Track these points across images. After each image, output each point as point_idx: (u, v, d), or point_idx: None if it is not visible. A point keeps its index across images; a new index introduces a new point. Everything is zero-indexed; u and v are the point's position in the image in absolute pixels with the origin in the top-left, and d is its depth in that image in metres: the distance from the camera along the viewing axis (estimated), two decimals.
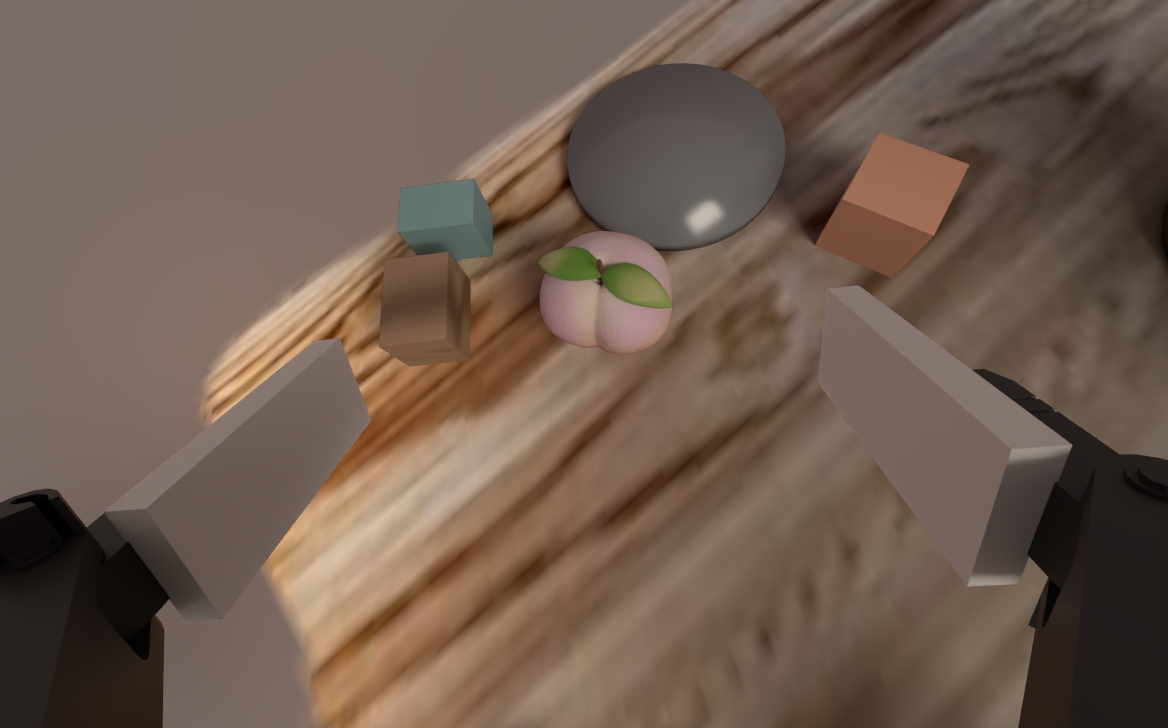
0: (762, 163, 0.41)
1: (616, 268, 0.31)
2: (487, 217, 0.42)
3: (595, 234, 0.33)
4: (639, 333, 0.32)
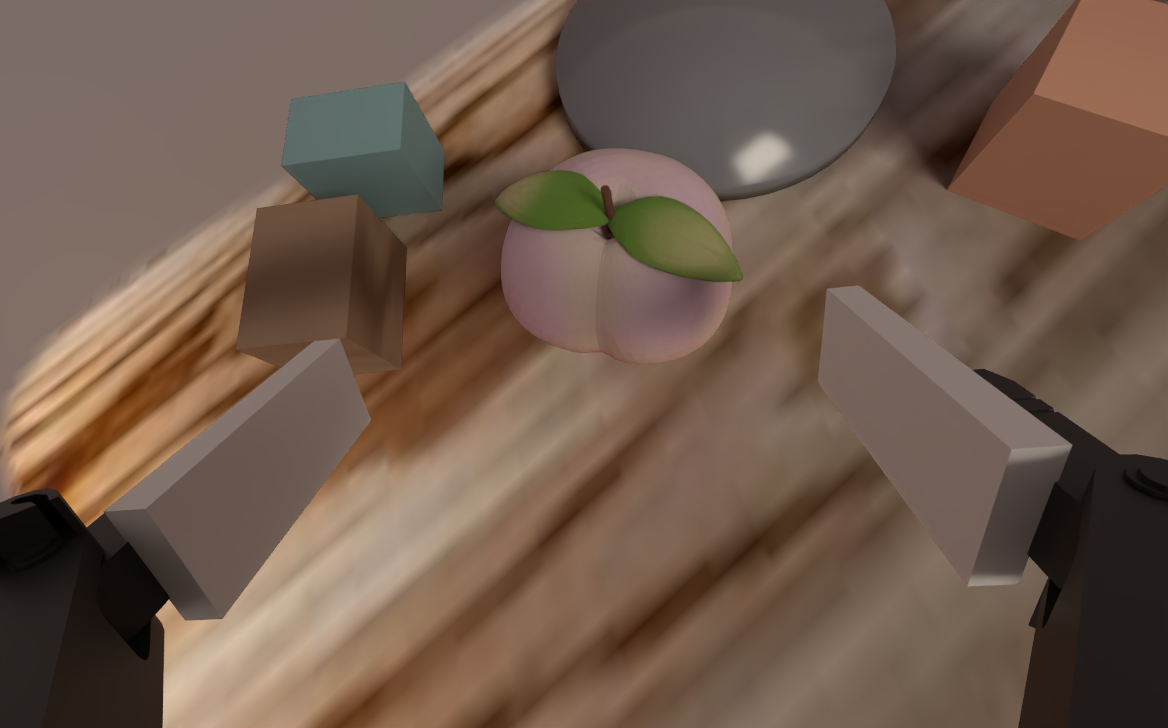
0: (859, 64, 0.26)
1: (637, 206, 0.16)
2: (433, 150, 0.28)
3: (598, 151, 0.18)
4: (678, 329, 0.17)
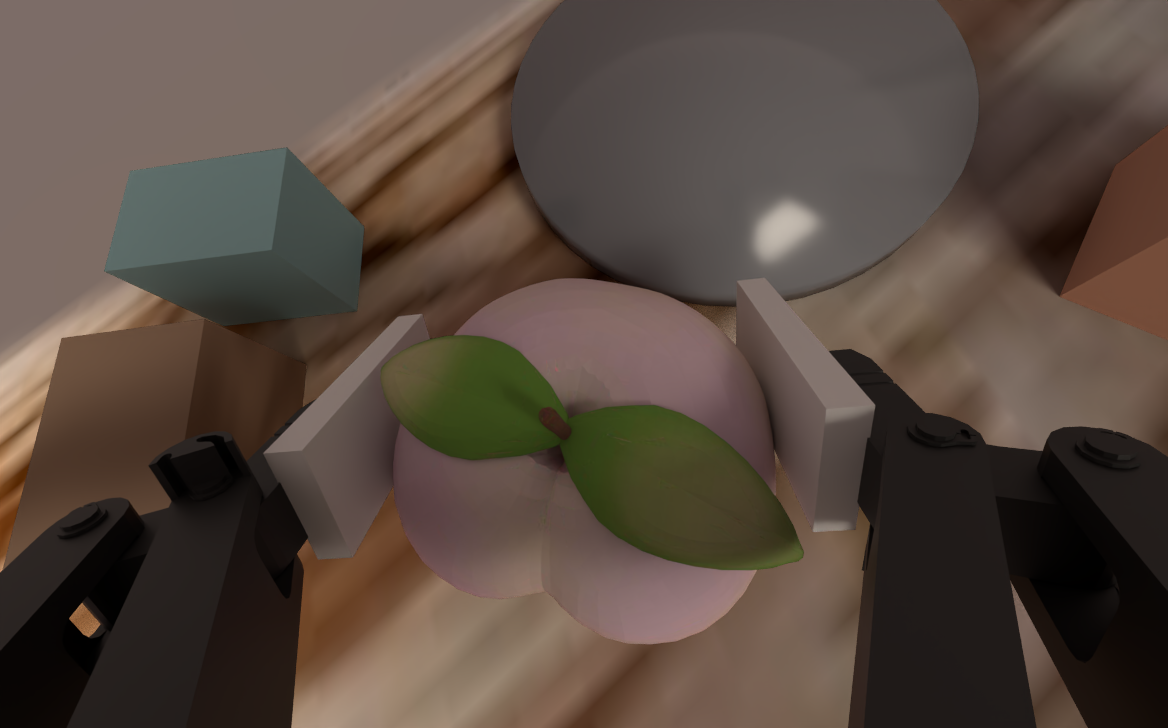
0: (928, 116, 0.19)
1: (612, 425, 0.09)
2: (342, 233, 0.20)
3: (551, 294, 0.11)
4: (685, 624, 0.10)
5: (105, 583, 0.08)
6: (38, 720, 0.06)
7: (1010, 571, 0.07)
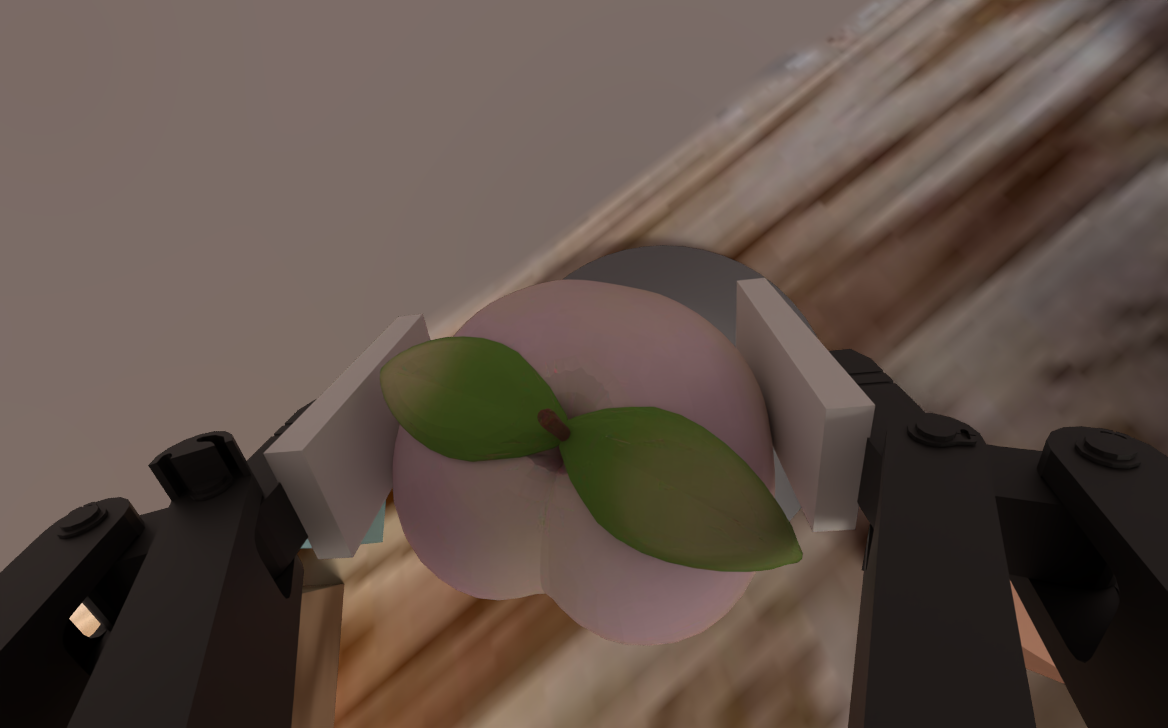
0: None
1: (611, 427, 0.09)
2: None
3: (550, 295, 0.11)
4: (684, 626, 0.10)
5: (105, 583, 0.08)
6: (38, 720, 0.06)
7: (1010, 571, 0.07)
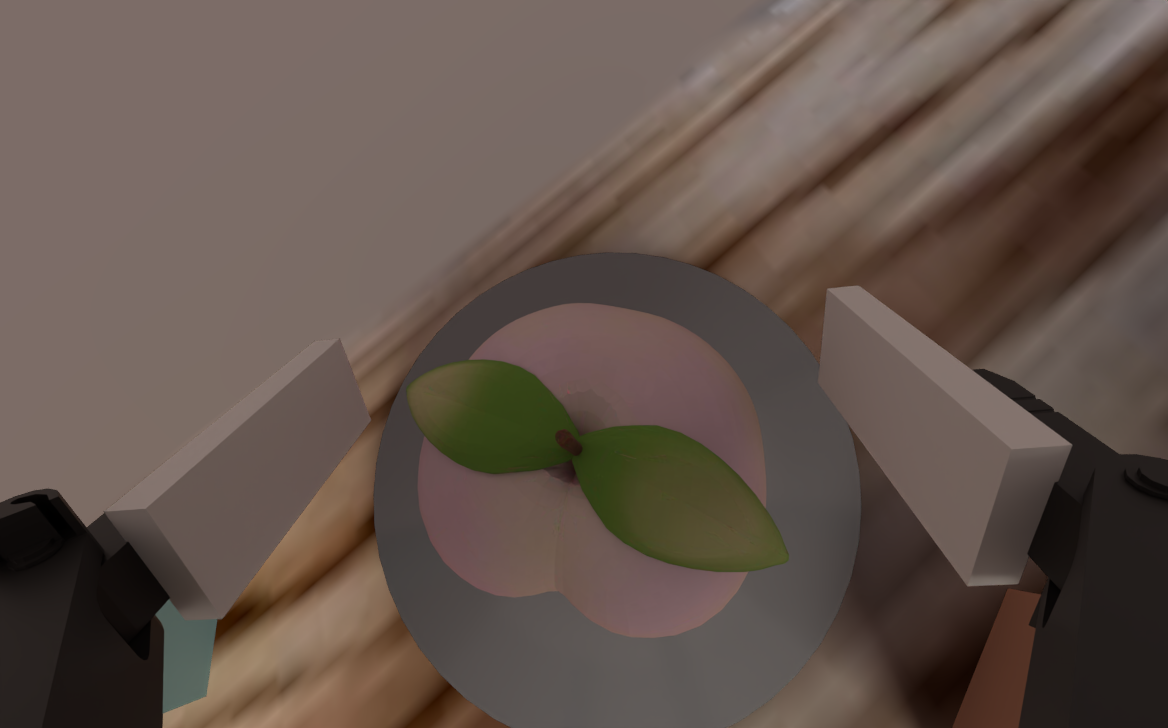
0: (806, 531, 0.17)
1: (619, 443, 0.10)
2: (185, 623, 0.19)
3: (562, 320, 0.12)
4: (684, 620, 0.11)
5: None
6: None
7: None
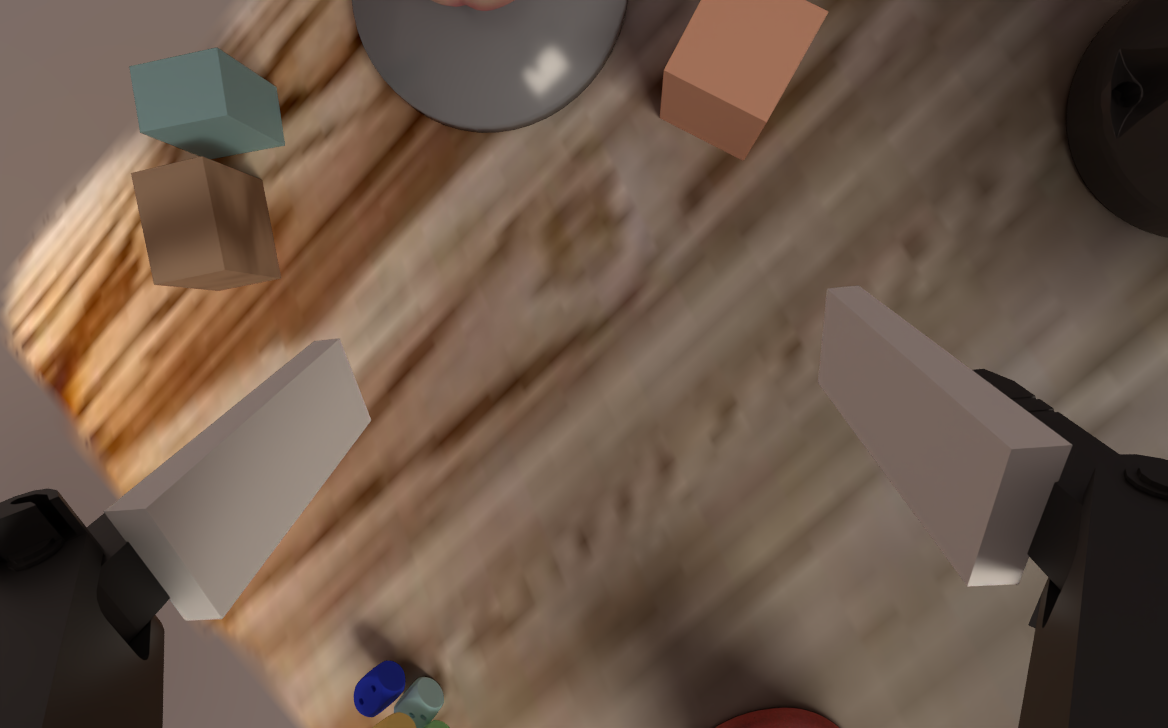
0: (597, 0, 0.31)
1: None
2: (263, 95, 0.34)
3: None
4: None
5: None
6: None
7: None
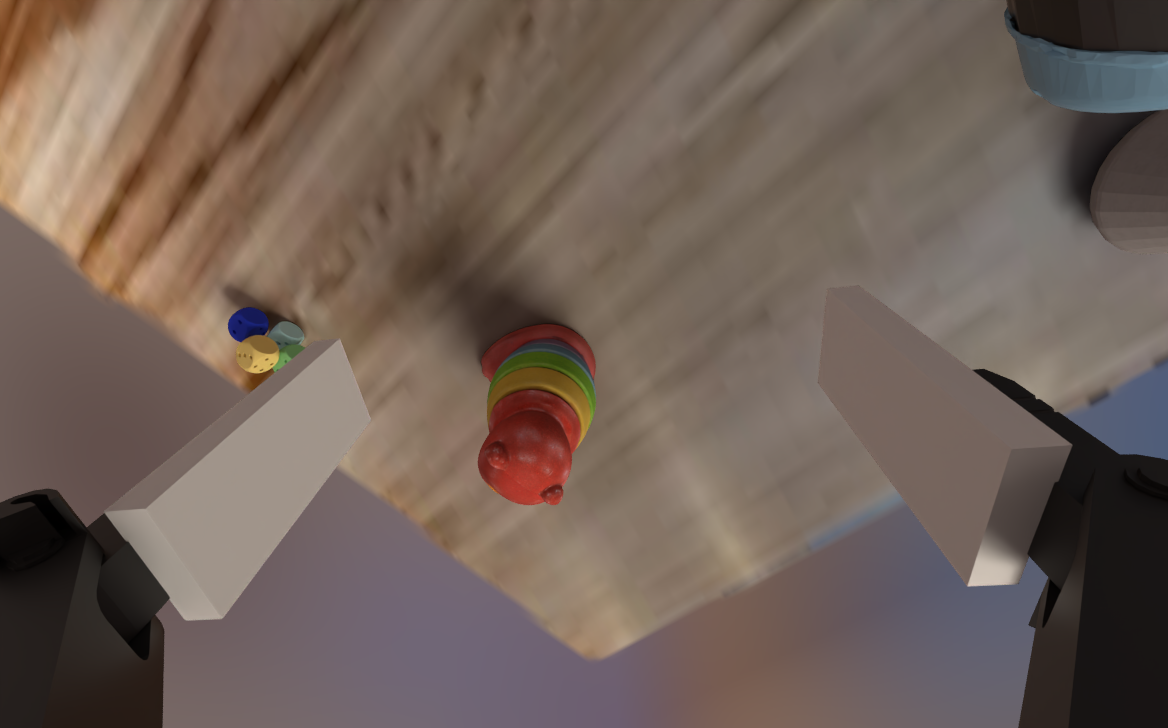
0: None
1: None
2: None
3: None
4: None
5: None
6: None
7: None
